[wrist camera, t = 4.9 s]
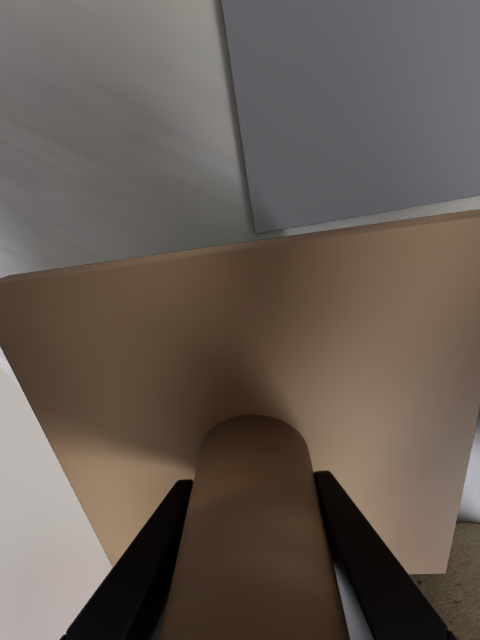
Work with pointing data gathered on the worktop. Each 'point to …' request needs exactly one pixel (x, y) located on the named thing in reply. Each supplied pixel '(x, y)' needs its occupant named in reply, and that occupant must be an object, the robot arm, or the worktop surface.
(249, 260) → the lid
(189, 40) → the worktop surface
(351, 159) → the mat
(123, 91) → the worktop surface
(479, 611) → the tube
